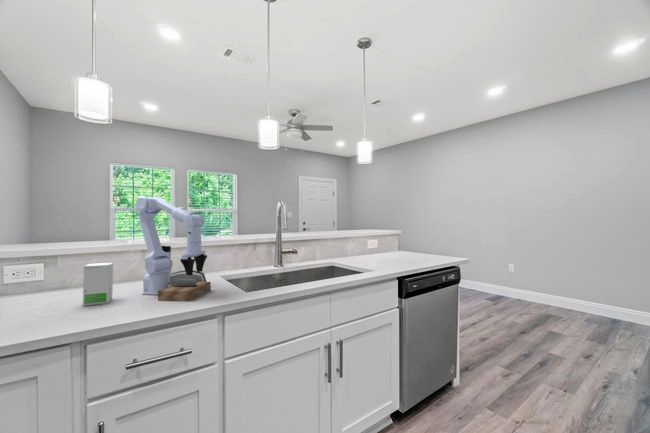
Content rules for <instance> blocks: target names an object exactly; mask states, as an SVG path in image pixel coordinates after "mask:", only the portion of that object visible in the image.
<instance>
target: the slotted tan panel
mask: <svg viewBox="0 0 650 433" xmlns="http://www.w3.org/2000/svg"><path fill="white" fill-rule="evenodd" d="M211 283H212V282H211V281H207V282H196V287H176V284H174V285H172V286H170V285H169V287H166V288H164V289H161V290H159V291H158V295H157V301H160V302H162V301H163V302H165V301H167V302H169V301H170V302H191V301H193V300H195V299H197V298H199V297H201V296H203V295H205V294H207V293H208V292H211V287H212V286H211Z"/></svg>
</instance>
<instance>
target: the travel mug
mask: <svg viewBox="0 0 650 433" xmlns="http://www.w3.org/2000/svg"><path fill="white" fill-rule="evenodd" d="M161 247H162V250H163V251H165V252H166V253H168V255H169V257H170V258H171V259H172V253H171V252H172V250H171V249H172V247H171V245H161ZM157 259H158V258H157ZM170 275H172V268H171V269H170V271H169V272H168V282H169V285H170Z"/></svg>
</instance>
